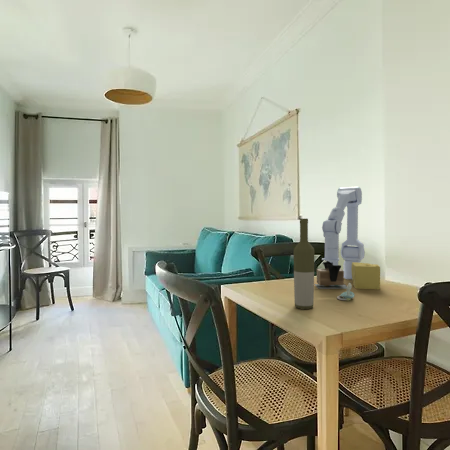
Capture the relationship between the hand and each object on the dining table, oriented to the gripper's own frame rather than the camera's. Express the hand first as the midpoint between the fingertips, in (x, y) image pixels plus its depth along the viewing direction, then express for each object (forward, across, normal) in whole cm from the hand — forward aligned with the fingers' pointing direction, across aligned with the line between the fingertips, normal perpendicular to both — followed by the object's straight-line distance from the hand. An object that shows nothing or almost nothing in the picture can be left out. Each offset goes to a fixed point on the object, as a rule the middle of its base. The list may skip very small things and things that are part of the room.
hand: (331, 279), depth 148 cm
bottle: (+3, +32, -16) cm, 37 cm away
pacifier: (+3, +20, 0) cm, 20 cm away
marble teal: (+3, 0, +2) cm, 3 cm away
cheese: (+3, 0, +14) cm, 15 cm away
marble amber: (+3, 0, -2) cm, 3 cm away
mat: (+3, 0, 0) cm, 3 cm away
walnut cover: (+2, 0, -1) cm, 2 cm away
